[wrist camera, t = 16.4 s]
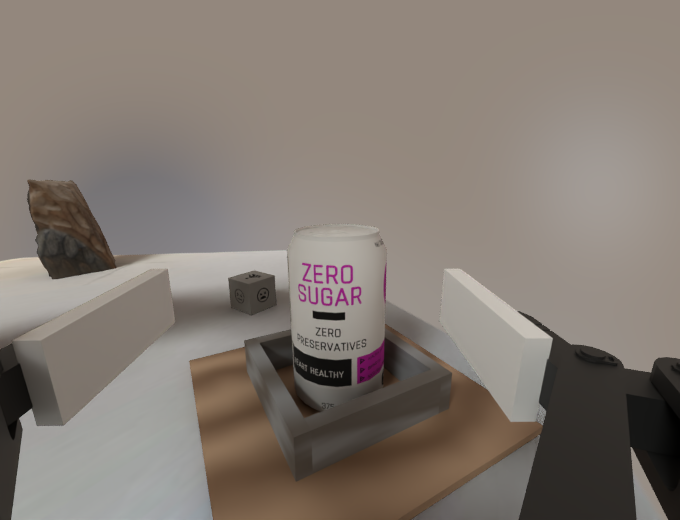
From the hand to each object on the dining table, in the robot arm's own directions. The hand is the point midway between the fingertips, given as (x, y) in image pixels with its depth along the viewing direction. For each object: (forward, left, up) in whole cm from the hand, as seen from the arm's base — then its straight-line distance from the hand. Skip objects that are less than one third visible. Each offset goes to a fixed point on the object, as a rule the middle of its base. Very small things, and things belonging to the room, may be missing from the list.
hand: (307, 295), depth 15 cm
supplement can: (-9, +7, -14) cm, 18 cm away
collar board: (-9, +7, -15) cm, 19 cm away
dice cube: (-35, +5, -15) cm, 38 cm away
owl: (-75, -23, -15) cm, 80 cm away
